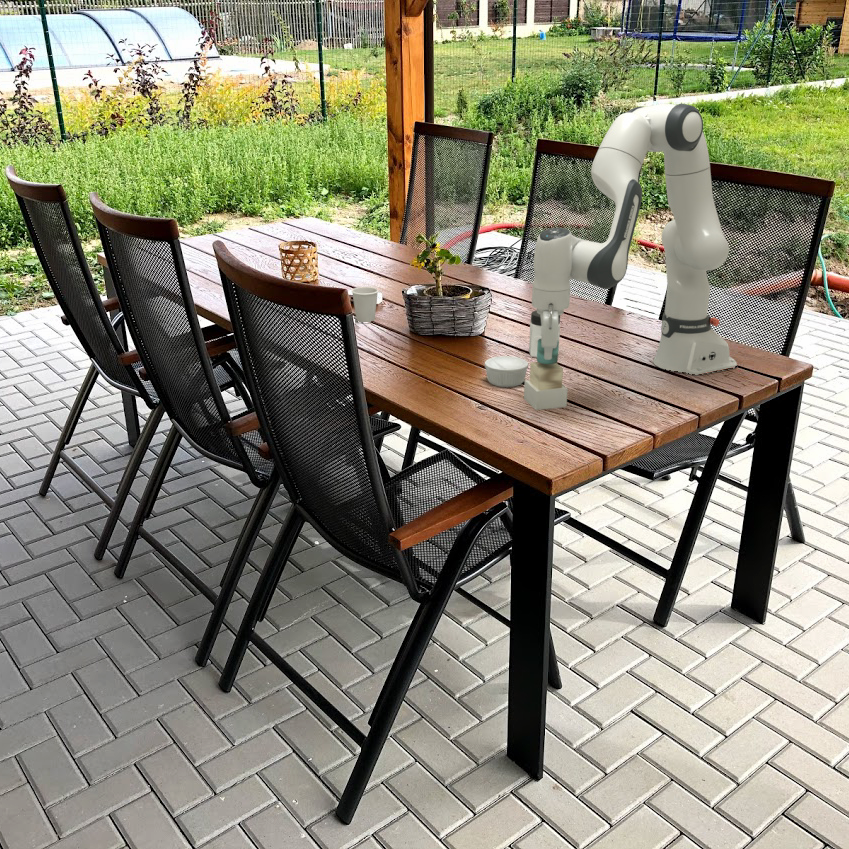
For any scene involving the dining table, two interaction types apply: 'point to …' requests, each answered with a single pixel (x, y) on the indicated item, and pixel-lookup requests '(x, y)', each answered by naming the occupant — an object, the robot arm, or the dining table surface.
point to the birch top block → (546, 375)
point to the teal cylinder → (541, 354)
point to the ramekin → (506, 371)
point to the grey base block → (545, 396)
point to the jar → (537, 333)
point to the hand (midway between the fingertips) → (547, 354)
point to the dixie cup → (365, 303)
